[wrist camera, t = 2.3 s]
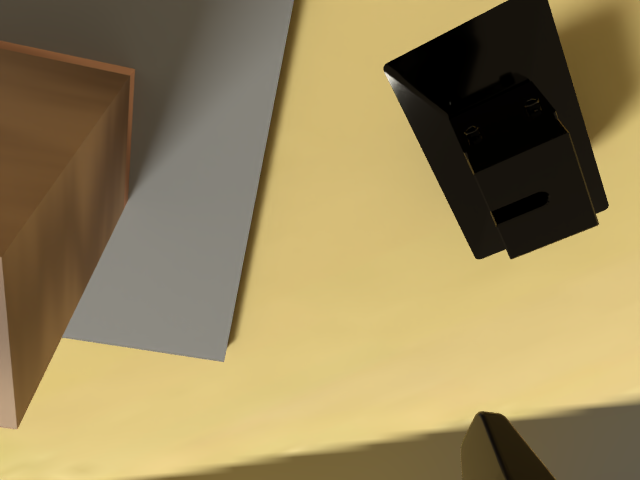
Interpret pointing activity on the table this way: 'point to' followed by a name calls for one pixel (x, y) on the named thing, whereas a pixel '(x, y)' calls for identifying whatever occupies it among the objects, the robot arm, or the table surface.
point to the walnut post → (54, 200)
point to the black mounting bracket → (503, 129)
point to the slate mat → (173, 157)
